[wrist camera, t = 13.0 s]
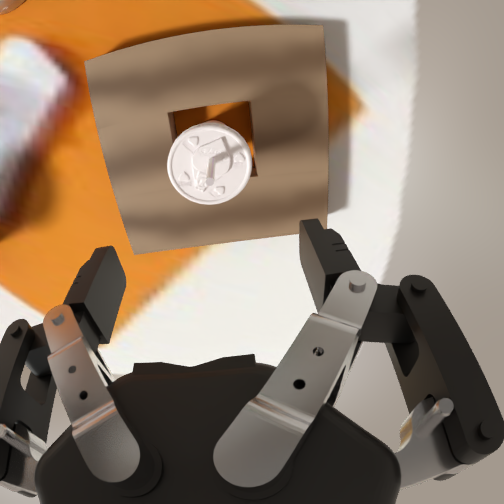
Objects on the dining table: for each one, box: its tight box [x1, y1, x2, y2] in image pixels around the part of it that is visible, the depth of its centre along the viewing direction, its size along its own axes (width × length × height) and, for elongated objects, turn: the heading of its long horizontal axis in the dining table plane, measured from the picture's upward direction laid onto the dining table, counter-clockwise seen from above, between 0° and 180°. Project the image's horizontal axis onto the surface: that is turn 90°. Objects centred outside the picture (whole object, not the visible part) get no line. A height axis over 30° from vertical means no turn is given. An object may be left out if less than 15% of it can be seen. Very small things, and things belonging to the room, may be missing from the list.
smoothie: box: [167, 120, 252, 205], centre depth 24 cm, size 6×6×14 cm
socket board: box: [85, 25, 329, 255], centre depth 28 cm, size 22×22×3 cm
